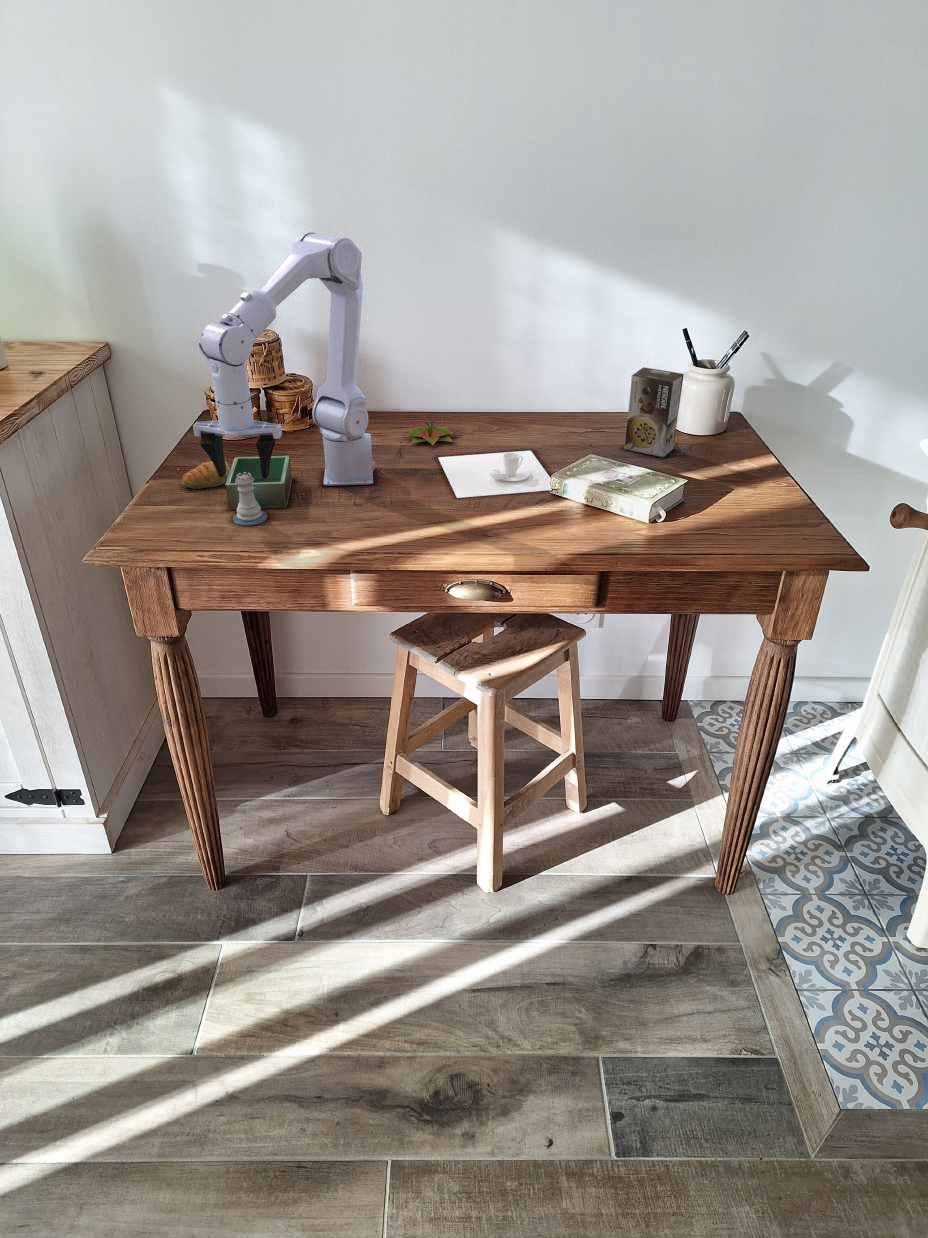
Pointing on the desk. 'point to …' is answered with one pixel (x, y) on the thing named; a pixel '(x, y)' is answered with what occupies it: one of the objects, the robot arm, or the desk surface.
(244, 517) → the rook chess piece
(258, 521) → the tile coaster
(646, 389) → the coffee box
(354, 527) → the desk surface
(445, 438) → the lily flower
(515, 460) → the teacup and saucer
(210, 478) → the pastry
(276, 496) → the open box
